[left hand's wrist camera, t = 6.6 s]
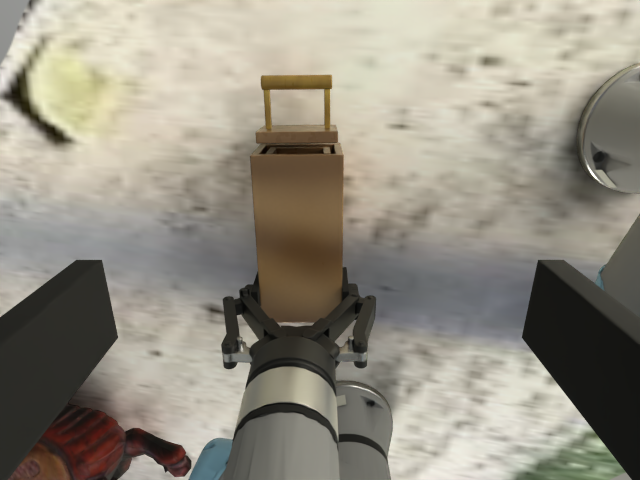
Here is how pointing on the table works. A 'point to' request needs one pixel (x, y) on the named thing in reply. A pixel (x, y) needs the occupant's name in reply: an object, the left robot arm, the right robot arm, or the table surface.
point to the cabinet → (298, 231)
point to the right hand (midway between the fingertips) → (302, 277)
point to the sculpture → (95, 449)
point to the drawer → (297, 132)
